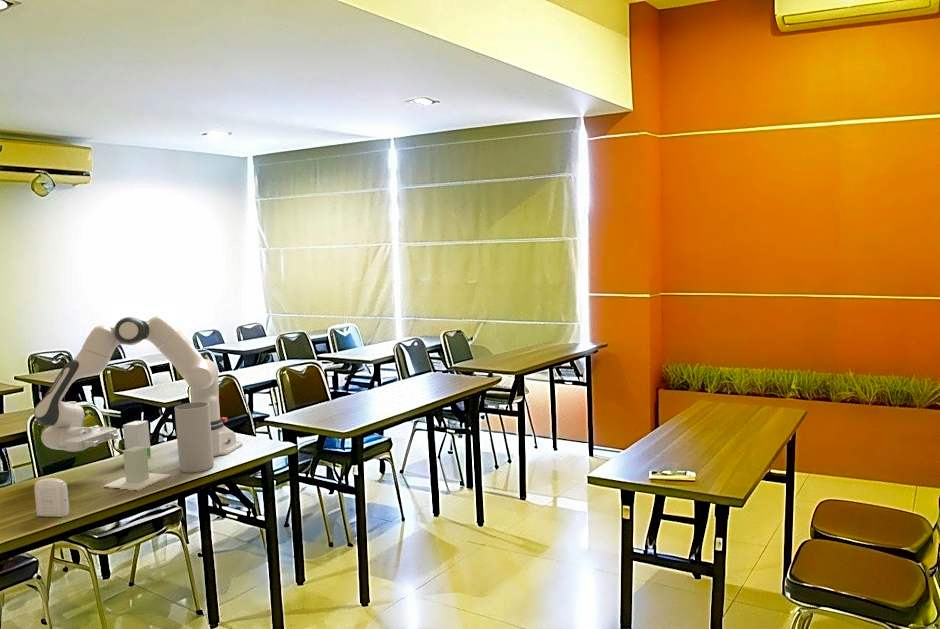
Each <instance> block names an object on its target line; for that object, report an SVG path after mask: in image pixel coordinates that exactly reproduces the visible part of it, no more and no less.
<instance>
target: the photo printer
mask: <svg viewBox="0 0 940 629" xmlns="http://www.w3.org/2000/svg"><path fill="white" fill-rule="evenodd" d="M68 490H69V489H68V483H67V482H66V481H65V480H64V479H60V478H55V477H49V478H41V479H39V480H37V481H36V482H35V484H34V498H35V499H34V500H35V508H36V510H35V511H36V516H37V517H53V518H54V517H55V518H57V517H58V518H59V517H60V518H61V517H62V518H63V517H64V518H65V517H67V516H68V515H69V513H70V502H69V500H70V499H69V491H68Z"/></svg>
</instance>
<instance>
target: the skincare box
mask: <svg viewBox="0 0 940 629" xmlns="http://www.w3.org/2000/svg"><path fill="white" fill-rule="evenodd" d="M122 429H123V430H122V431H123V440H124V448H125V449H124V450H126V449H129V448H132V447H147V458H148V459H149V457H150V458H151V457H152V451H151V450H152V449H151V442H150V441H151V440H150V429H149V421H148V420H134V421H131V422H127V423H125V424H123V425H122Z"/></svg>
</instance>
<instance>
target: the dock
mask: <svg viewBox="0 0 940 629" xmlns="http://www.w3.org/2000/svg"><path fill="white" fill-rule="evenodd" d="M168 477H169V478H171V474H167V473H166V474H165V473H164V474H163V473H154V472H153V473H152V472H149V478H148V479H146V480H144V481H141V482H139V483H133V482H126V478H125V476H124V477H121V478H119V479H115V480H114V481H112V482H108V483H107V484H103V488H104V487H109V488H108V489H113V488H120V489H119V490H123V489H128V490H127V491H134V490H137V491H136V492H138V490H139V491H142V490H143V488H144V489H146V488H148V487H150V486H149V485H151V486H153V485H155V484H157V483H159V482H158V481H160V482H161V480H162V481H164V480H166V478H167V479H169V478H168ZM163 479H164V480H163ZM156 482H157V483H156ZM154 483H155V484H154ZM152 484H153V485H152ZM147 486H148V487H147ZM145 487H146V488H145Z"/></svg>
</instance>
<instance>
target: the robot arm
mask: <svg viewBox="0 0 940 629" xmlns="http://www.w3.org/2000/svg"><path fill="white" fill-rule="evenodd" d="M143 340H144V341H149V342H150V343H152V344H153V346H154V347H156V349H158V351H160V353H161V354H163V356H164V357H165V358H166V359H167V360H168V361H170V363H171V364H172V365H173V367H174V368H175V369H176V371H177V372H178V374H179V375H180V376H181V377H182V378H183V380H184V381H185V382H186V383H187V385H188V386H189V387H190V403H193V402H207V403H209V411H210V423H211V436H212V448H213V457H217V456H223V455H228V454H230V453H233V451H235V450H237V449H238V448H239V447H241V446H243V442H242V441H237V437H236V433H235V432H234V431H233V430H231V429H229V428H228V427H227V426H225V425H224V423H227V422H228V417H224V416H223V417H221V415H220V414H221V413H220V399H219V397H220V393H219V391H220V390H219V386H220V385H219V370H218V366H217V364H216V363H215V362H214V361H212V360H211V359H208V358H203V356H202V354H200V352H199V351H198V350H197V349H196V347H195V345H194V344H193V343H192V342H191V341H190V340H189V338H187V337H186V336H185V335H184V334H183V333H182V332H181V331H180V329H179V328H178V327H176V326H175V325H174V324H173V323H172V322H171V321H169V320H168V319H166V318H165V317H164V316H160V315H156V316H152V317H151V318H150V319H148V320H147V321H146V320H143V319H139V318H136V317H132V316H131V317H130V316H127V317H123V318H121V319H119V320H118V321H117V322H116V324H115V326H113V327H109V326H108V325H107V326H106V325H98V326H95V327H94V328H93V329H92V330H91V332H90V333H89V335H88V336H87V338H86V339H85V341H84V342H83V345H82V347H81V349H80V351H79V352H78V354H77V355H76V356H75V358H73V359H72V360H69V361H68V362H67V363H66V364H65V365H64V366H63V367H62V368H61V371H60V372H59V373H58V374H57V376H56V378H55V380H54V381H53V382H52V384H51V386H50V387H49V389H48V390H47V391H46V393H45V395H44V396H43V397H42V398H41V400H40V401H39V402H38V403H37V404H36V405H35V407H34V410H33V414H34V417H35V418H34V419H35V420H36V422H37V423H38V425H40V426H47V427H46V428H45V429H44V430H43V431H42V433H41V435H40V438H41V439H40V440H41V442H42V444H43V445H44V446H45V447H47V448H49V449H50V450H51V449H52V450H59V451H61V450H62V451H64V452H65V451H66V452H74V453H75V452H82V451H85V450H86V449H88V448H90V447H93V448H95V447H98V446H99V444H102V443H105V442H108V441H110V440H117V439H119V434H118V430H117V428H116V427H113V426H112V427H111V426H100V425H98V424H96V425H95V424H94V425H90V426H89V425H88V426H84V424H85V419H86V413H85V409H84V408H83V407H82V405H81V404H75V403H72V402H67V401H62V400H63V398H64V396H65V395H66V393H67V392H68V391H69V388H70V387H71V385H72V384H73V383H74V382H75V381H76V380H79V379H81V378H85V377H92V376H96V375H98V374H100V373H102V372H104V371H105V369H106V368H107V367H108V365H109V363H110V360H111V358H112V356H113V354H114V351H115V349H116V348H117V347H118V346H120V345H127V346H134V345H137V344H139V343H141V342H142V341H143Z"/></svg>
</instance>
